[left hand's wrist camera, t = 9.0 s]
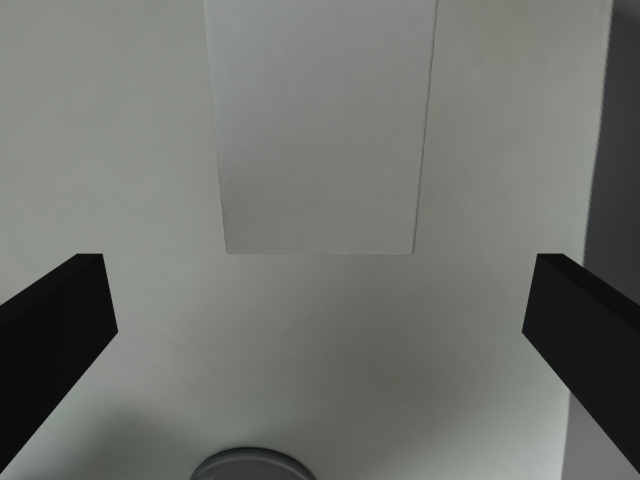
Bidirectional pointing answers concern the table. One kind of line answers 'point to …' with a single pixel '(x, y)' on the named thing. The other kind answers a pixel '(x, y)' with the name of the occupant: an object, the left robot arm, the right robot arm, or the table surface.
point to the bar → (320, 122)
